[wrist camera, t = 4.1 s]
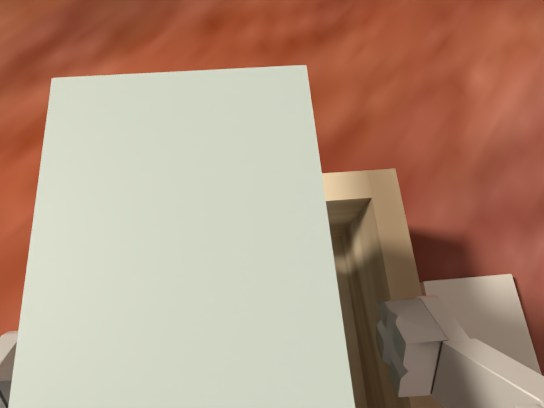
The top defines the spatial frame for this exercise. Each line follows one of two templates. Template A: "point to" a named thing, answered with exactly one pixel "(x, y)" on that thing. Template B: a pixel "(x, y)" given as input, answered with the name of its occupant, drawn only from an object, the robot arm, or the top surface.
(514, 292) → the felt pad
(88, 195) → the pale green block
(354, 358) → the tray
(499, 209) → the top surface
